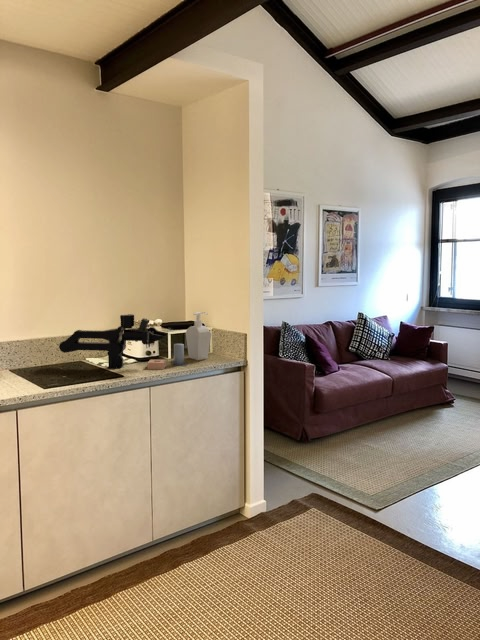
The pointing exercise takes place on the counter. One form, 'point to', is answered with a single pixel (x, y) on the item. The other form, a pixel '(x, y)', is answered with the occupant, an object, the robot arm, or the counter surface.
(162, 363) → the salmon flat square slab
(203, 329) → the soap bottle
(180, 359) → the grey domed cylinder
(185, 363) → the mat
